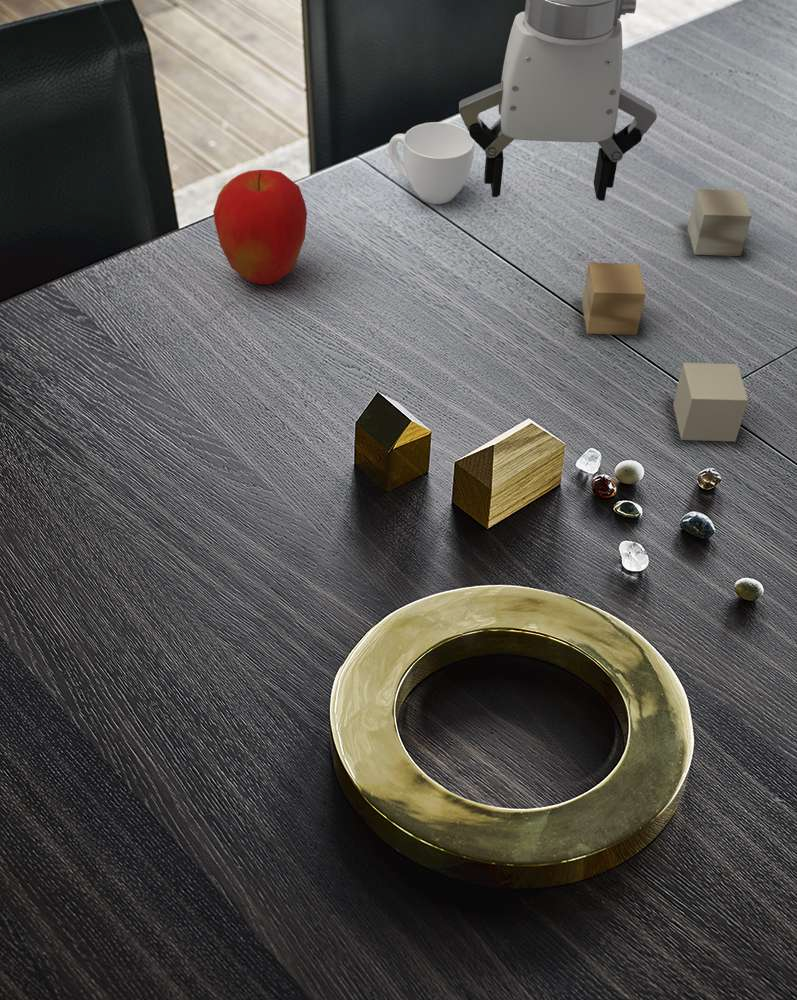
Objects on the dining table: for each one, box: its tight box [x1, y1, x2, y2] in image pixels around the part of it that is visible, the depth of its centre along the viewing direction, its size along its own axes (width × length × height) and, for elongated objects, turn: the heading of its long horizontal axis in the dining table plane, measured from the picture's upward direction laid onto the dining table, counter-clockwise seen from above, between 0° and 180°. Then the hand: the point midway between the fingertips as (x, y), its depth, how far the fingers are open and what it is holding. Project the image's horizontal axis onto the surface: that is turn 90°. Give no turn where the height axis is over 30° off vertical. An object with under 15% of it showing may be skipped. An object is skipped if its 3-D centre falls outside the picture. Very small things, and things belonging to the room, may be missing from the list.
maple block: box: [581, 262, 646, 336], centre depth 124 cm, size 5×5×5 cm
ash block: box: [687, 188, 752, 257], centre depth 134 cm, size 5×5×5 cm
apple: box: [213, 169, 308, 286], centre depth 125 cm, size 9×9×12 cm
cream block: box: [672, 362, 749, 443], centre depth 113 cm, size 5×5×5 cm
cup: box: [387, 121, 476, 205], centre depth 139 cm, size 8×10×7 cm
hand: (546, 191), depth 115 cm, fingers open, 9 cm apart
